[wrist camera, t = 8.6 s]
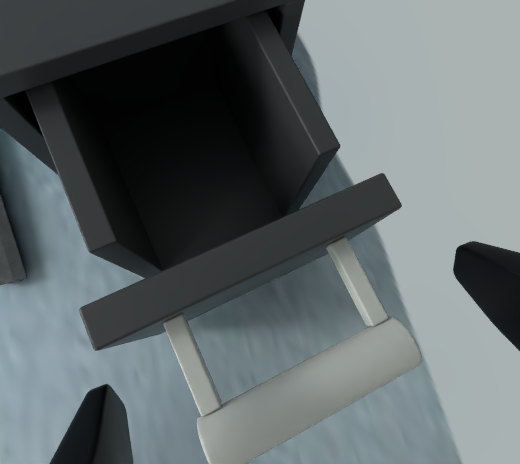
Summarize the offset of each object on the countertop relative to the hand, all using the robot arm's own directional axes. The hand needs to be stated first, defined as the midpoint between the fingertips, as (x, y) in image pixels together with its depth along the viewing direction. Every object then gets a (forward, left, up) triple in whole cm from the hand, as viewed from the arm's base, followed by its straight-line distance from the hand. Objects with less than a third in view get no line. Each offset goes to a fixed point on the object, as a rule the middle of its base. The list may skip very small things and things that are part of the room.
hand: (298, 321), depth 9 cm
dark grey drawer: (+3, +4, -10) cm, 11 cm away
